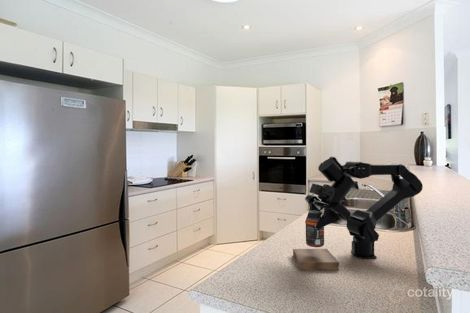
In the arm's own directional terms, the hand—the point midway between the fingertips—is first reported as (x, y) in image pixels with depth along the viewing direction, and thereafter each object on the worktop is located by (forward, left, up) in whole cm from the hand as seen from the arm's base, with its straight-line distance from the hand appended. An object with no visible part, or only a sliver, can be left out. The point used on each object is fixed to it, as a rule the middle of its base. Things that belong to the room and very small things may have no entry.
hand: (311, 225), depth 94 cm
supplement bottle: (-1, 0, -7) cm, 7 cm away
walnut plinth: (-1, 0, -12) cm, 13 cm away
